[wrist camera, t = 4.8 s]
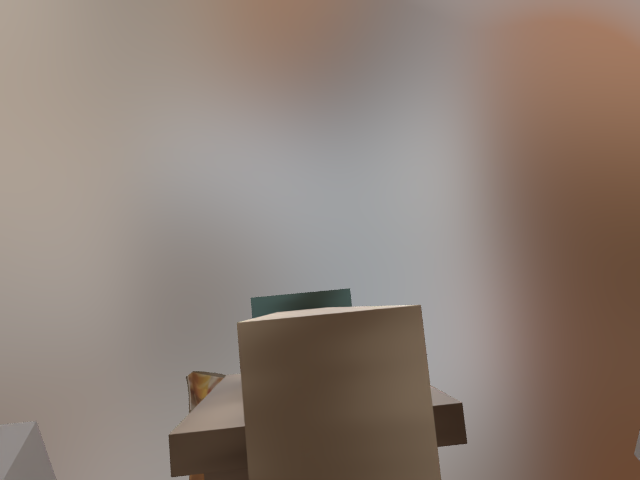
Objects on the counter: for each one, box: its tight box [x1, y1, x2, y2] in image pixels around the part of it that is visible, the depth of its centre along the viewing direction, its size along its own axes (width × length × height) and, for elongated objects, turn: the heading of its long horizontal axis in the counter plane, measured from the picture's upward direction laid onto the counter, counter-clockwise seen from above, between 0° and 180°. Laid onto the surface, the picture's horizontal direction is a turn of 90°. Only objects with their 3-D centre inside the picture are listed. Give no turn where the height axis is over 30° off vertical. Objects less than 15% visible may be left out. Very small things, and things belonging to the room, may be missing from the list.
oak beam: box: [237, 289, 441, 480], centre depth 23 cm, size 6×30×5 cm, turn 3°
